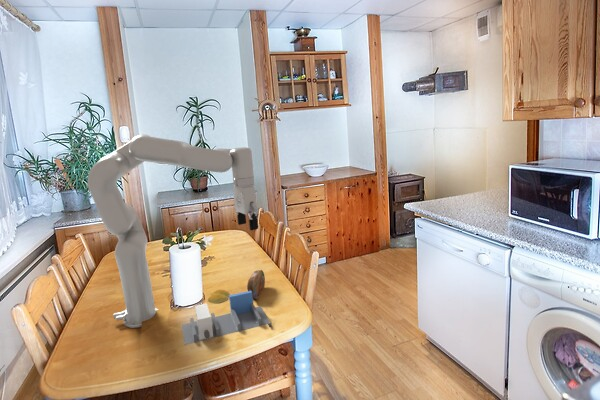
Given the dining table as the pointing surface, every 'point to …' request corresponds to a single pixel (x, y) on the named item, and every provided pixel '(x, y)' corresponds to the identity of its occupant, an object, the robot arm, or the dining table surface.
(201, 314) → the cable plug
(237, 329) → the board
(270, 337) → the dining table surface
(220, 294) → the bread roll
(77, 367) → the dining table surface
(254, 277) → the brown flat oval slab
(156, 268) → the dining table surface
